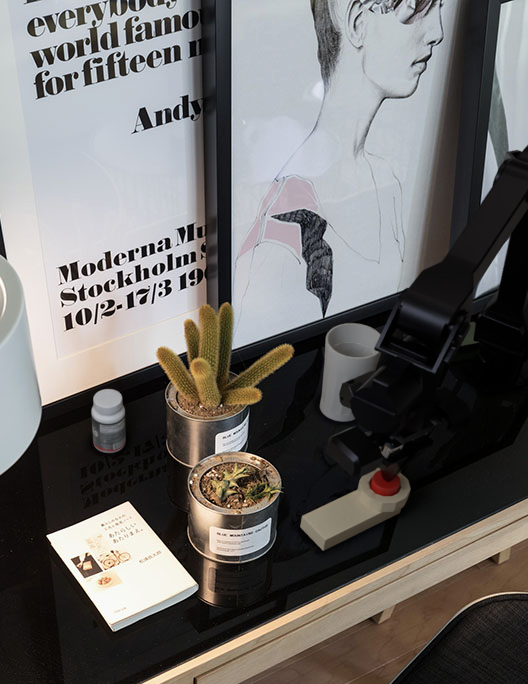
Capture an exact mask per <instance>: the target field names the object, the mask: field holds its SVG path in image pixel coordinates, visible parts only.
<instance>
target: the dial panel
mask: <svg viewBox="0 0 528 684" xmlns="http://www.w3.org/2000/svg"><path fill="white" fill-rule="evenodd" d="M470 325H471V327H470V330H469V332H468V333H467V335H466V337H465V339H464V341H463V342H462V344H461V346H460V348H459V349H458V351H457V353H456V355H455V356H454V358H453V360H452V362H451V363H450V364H452V363H456V362H462V361H468V360H474V357H475V354H476V352H477V351H479V349H480V346H481V343H480V342H476V341H473V338H474V332H475V325H476V321H470ZM404 335H405V334H403V335H402V338H401V340H403V339H404Z"/></svg>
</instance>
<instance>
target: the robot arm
mask: <svg viewBox="0 0 528 684" xmlns="http://www.w3.org/2000/svg"><path fill="white" fill-rule="evenodd" d="M454 241H455V242H454V243H453V244H452V246H451V247H450V249H449V250H448V251H447V253H446V255H445V256H444V257H443V258H442V260H441V261H439V262H436V263H435V264H432V265H430V266H428V267H426V268H424V269H422V270H421V271H420V273H419V274H418V275H417V276H416V277H415V279H414V280H413V282H412V283H411V284H410V286H409V287H406V288H404V289H403V290H402V291H401V293H400V294H399V296H398V297H397V299H396V301H395V304H394V305H393V308H392V310H391V312H390V314H389V316H388V318H387V321H386V323H385V325H384V326H383V329H382V331H381V332H380V334H381V335H380V337H379V339H378V341H377V343H376V345H375V348H374V350H375V351H378V352H380V353H381V355H382V354H383V355H385V357H384V361H383V363H382V365H381V366H380V367H379V368H378V369H377V370H375V371H370V372H367V373H365V374H363V375H361V376H358V377H356V378H354V379H351V380H349V381H346V382H344V383H342V386H341V389H340V392H339V399H340V403H341V405H342V406H345V407H347V408H349V409H351V411H352V414H353V416H354V418H355V419H354V420H355V421H356V422H357V423H358V424H359V425H360V427H362V428H364V429H365V430H366V431H365V432H364V431H363V430H362V429H360V427H358V426H357V425H356V426H352V427H348V428H346V429H344V430H341V431H340V432H337V433H335V434H333V435H331V436H328V441H327V447H326V453H327V455H329V456H330V458H332V460H334V461H335V463H337V464H338V465H339V466H340V467H341V468H342V469H343V470H344V471H345V472H346V473H347V474H348V475H349V476H351V477H352V478H357V479H361V477H362V476H364V475H366V474H368V473H370V472H373V471H375V470H376V469H377V468H380V470H381V475H382V478H383V479H384V480H385V481H386V482H388V481H391V480H392V479H393V478H395V477H396V476H397V475H398V474H399V473H401V472H402V471H404V470H405V469H406V468H407V467H408V466H409V465H410V464H412V463H413V462H414V461H415V460H416V459H417V458H419V456H421V455H422V454H424V453H425V452H426V451H427V450H428V449H430V448H431V447H433V445H434V442H435V441H434V440H433V439H432V438H431V437H429V436H428V433H430V432H433V430H434V428H435V427H437V426H439V425H441V424H443V420H444V421H445V422H446V423H447V426H446V429H447V431H449V432H450V433H451V434H455V433H457V432H459V431H461V430H463V429H466V428H467V427H469V425H470V423H471V419H472V417H473V412H472V409H471V406H470V405H469V404H468V403H467V402H465V401H464V400H463V399H462V398H461V397H459V396H458V395H457V394H455V393H454V392H453V391H451V390H450V389H449V388H448V387H446V386H440V387H439V384H440V381H441V378H442V374H443V371H444V367H445V366H446V365H447V366H450V365H451V364H452V363H453V362H452V360H453V358H454V356H455V355H456V353H457V351H458V349H459V348H460V346H461V344H462V342H463V341H464V339H465V337H466V335H467V333H468V332H469V330H470V327H471V325H470V322H471V319H472V313H473V308H474V307H473V306H474V291H475V289H476V288H477V286H478V284H479V283H480V282H481V280H482V278H483V277H484V275H485V274H486V272H487V271H488V269H489V268H490V266H491V264H492V263H493V262H494V260H495V259H496V258H497V256H498V254H499V252H500V251H501V250H502V248H503V247H504V245H505V243H506V242H507V241H508V243H507V246H506V252H505V257H504V262H503V267H502V272H501V276H500V282H499V285H498V289H497V291H496V292H495V293H494V295H493V296H492V298H491V299H490V300H489V302H488V303H486V304H485V305H483V307H482V308H481V310H480V312H479V314H478V315H477V317H476V321H475V324H476V325H475V332H474V338H473V341H476V342H480V343H481V346H480V349H479V351H477V352H476V354H475V357H474V358H473V360H472V363H470V364H467V365H466V367H465V370H466V371H467V372H468V374H469V375H470V376H471V378H472V379H473V380H474V382H475V383H476V384H477V385H478V387H479V388H480V390H481V391H482V392H483V394H493V393H498V392H502V391H507V390H513V389H518V388H522V387H523V386H524V385H525V382H524V381H523V379H522V378H521V377H520V375H521V373H522V370H523V368H524V365H525V363H527V362H528V144H527V145H526V146H525V147H524V148H523V150H522V151H521V150H519V149H515V150H509V151H506V153H505V156H504V158H503V161H502V162H501V164H500V165H499V167H498V168H497V171H496V172H495V176H494V179H493V181H492V186H491V188H490V189H489V191H488V192H487V193H486V195H485V196H484V198H483V199H482V201H481V202H480V204H479V205H478V207H477V208H476V210H475V211H474V213H473V214H472V216H471V218H470V219H469V220H468V222H467V223H466V225H465V226H464V228H463V229H462V231H461V233H460V234H459V235H458V237H457V238H456V240H454ZM396 330H397V331H398V332H400V333H402V334H403V335H405V334H407V335H409V336H408V337H407V338H405V339H404V340H402V338H401V339H400V338H399V337H396V336H393V335H394V334H395V332H396ZM451 362H452V363H451Z"/></svg>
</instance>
